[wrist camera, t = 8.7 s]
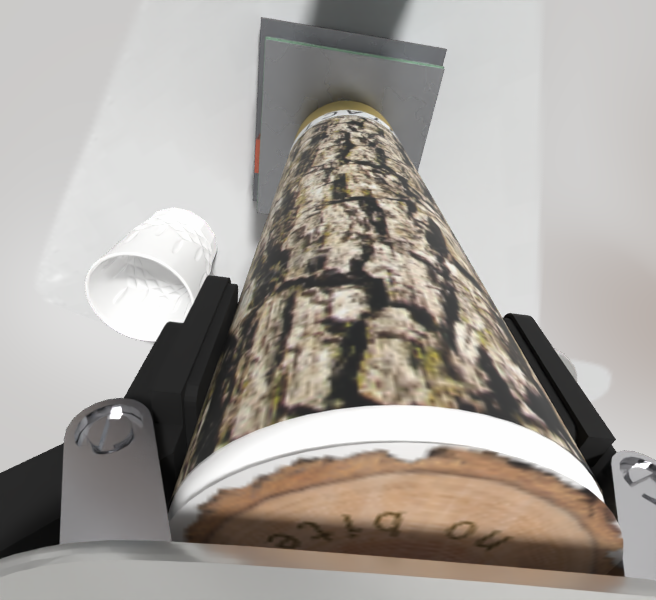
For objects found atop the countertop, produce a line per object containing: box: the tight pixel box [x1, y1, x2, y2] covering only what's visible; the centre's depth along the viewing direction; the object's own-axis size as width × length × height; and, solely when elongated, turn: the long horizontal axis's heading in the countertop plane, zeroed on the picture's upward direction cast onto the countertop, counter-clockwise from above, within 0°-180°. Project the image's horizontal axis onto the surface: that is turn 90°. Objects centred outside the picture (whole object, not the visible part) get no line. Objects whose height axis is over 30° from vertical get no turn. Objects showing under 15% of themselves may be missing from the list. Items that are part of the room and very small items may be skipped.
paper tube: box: [167, 101, 623, 575], centre depth 17 cm, size 7×7×25 cm
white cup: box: [85, 207, 217, 342], centre depth 35 cm, size 8×8×10 cm
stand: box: [253, 17, 447, 214], centre depth 31 cm, size 13×13×6 cm
